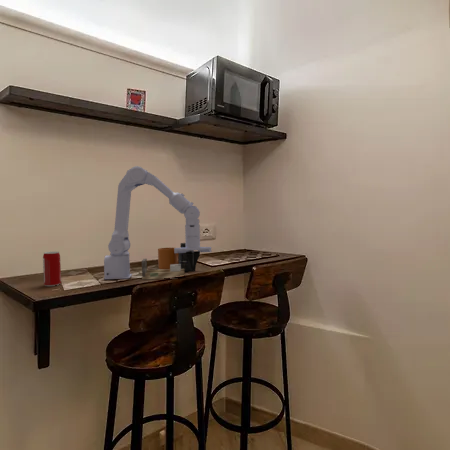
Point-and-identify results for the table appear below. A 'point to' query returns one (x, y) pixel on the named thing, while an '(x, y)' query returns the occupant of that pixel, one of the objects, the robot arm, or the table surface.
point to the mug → (166, 258)
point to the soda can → (51, 268)
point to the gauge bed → (158, 272)
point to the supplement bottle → (184, 260)
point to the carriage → (175, 267)
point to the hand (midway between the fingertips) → (193, 270)
